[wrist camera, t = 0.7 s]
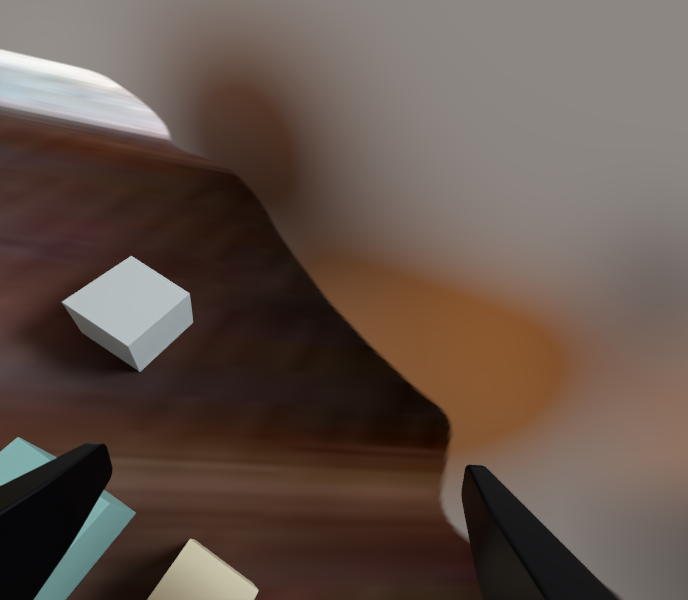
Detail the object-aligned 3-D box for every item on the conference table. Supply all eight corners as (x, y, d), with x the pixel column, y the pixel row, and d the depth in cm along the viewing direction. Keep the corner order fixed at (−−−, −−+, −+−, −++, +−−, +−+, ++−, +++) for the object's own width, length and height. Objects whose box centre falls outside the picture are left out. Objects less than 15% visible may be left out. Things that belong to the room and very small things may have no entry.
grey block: (140, 372, 23) (127, 346, 20) (82, 333, 24) (61, 301, 20) (193, 323, 26) (189, 293, 23) (141, 289, 27) (131, 255, 24)
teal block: (46, 623, 16) (-25, 656, 11) (-35, 560, 16) (-138, 567, 11) (136, 512, 19) (110, 503, 14) (66, 462, 19) (18, 436, 15)
